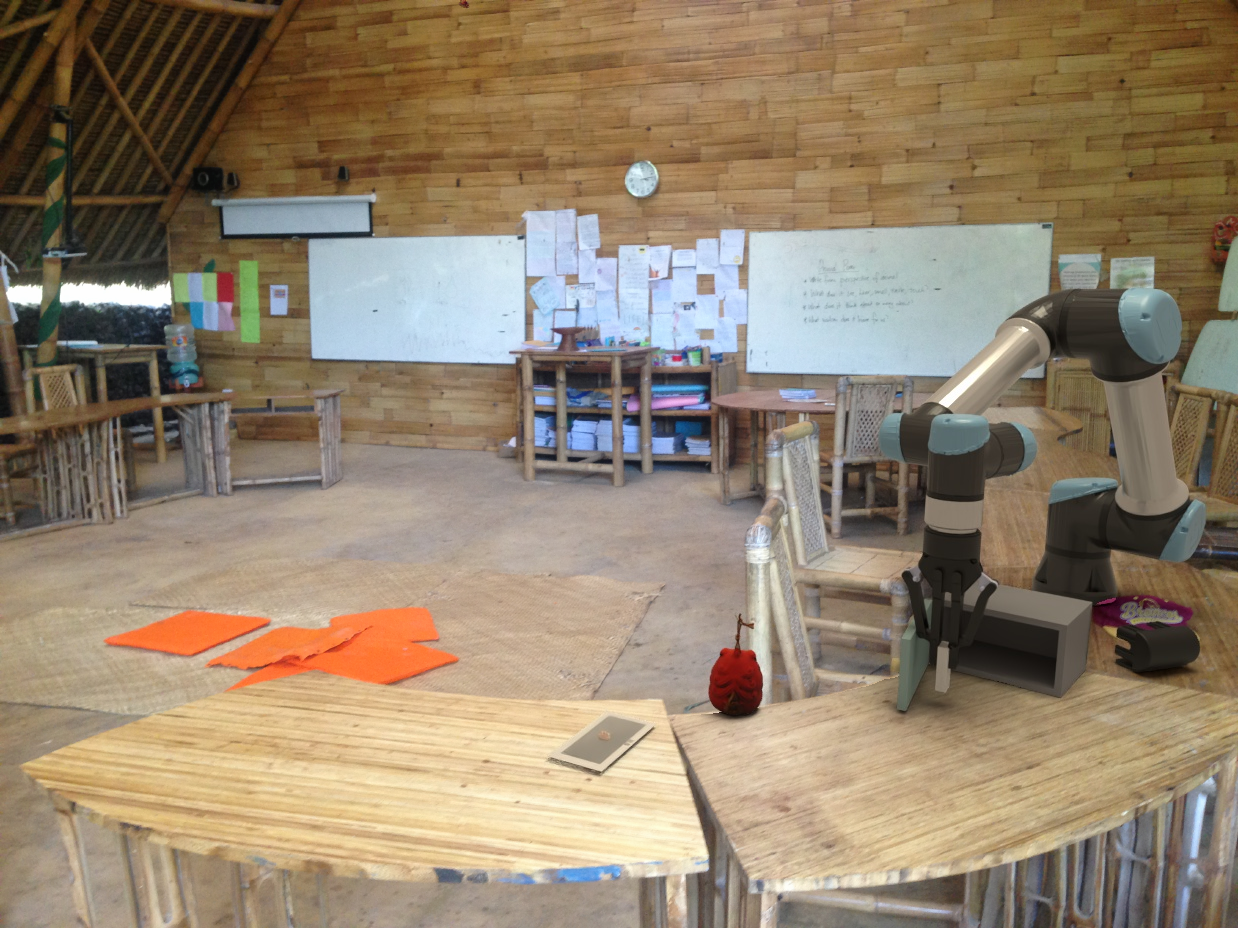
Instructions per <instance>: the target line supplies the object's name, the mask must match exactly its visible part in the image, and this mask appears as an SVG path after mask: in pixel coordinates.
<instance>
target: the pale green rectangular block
mask: <svg viewBox="0 0 1238 928" xmlns="http://www.w3.org/2000/svg"><path fill="white" fill-rule="evenodd" d="M924 603H925V609H926V614H927V619H928V624H929V629H931V614H932V599H931V597H925V598H924ZM929 645H930V643H929V642H928V641H927V640H925V639H921V638H919V637H918V636H917V631H916V626H915V621H914V617H913V618H912V619H911V621H910V623H909V624H908V626H907V628H906V629H905V631H904V633H903V635H902V637H901V640H900V655H899V656H900V657H892V658H891V663H890V672H892V673H896V674H898V686H897V688H898V690H897V702H896V703H897V706H896V709H897V711H898V710H900V711H902V712H903V711H904V712H905V711H906V712H907V710H908V707H909V706H910V703H911V701H912V699H913V696H914V694H915V693H916V690H917V689H918V686H919V684H920V682H921V680H922V677H923V675H924V673H925V671H926V669H927V668H928V665H929V664H928V660H929Z"/></svg>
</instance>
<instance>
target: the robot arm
mask: <svg viewBox="0 0 1238 928" xmlns="http://www.w3.org/2000/svg"><path fill="white" fill-rule="evenodd" d="M1181 315H1182V314H1181V311H1180V309H1179V306H1178V304H1177V302H1176V300H1175V299H1174V297H1172V295H1171V294H1170V293H1168V292H1166V291H1164V290H1162V289H1159V288H1144V287H1141V286H1140V287H1139V286H1135V287H1134V286H1132V287H1130V288H1067V289H1062V290H1057V291H1054V292H1051V293H1048V294H1046V295H1044V296H1042V297H1038V299H1035V300H1033V301H1031V302H1030V303H1028V304H1026V305H1025V306H1023V307H1022V308H1020V309H1018V310H1017V311H1015V312H1014V313H1013V314H1012V315H1010V316H1009V317H1008V318H1006V319H1005V320H1004V321H1003V322H1002V323H1001V324H1000V325H999V326H998V327H997V329H996V331H995V334H994V338H993V339H992V340H991V341H990V342H988V344H987V345H986V346H984V348H982V349H981V350H980V351H979V352H978V353H976V354H975V355H974V357H972V358H971V359H970V360H969V361H968V362H967V363H966V364H965V365H963V366H962V367H961V368H960V369H958V371H957V372H955V374H953V375H952V376H951V377H950V378H949V379H948V380H947V381H946V382H945V383H944V384H942V385H941V386H940V387H939V388H938V389H937V390H936V391H935V392H934V393H933V394H932V395H930V396H929V397H928V398H927V399H926V400H924V402H923V403H921V404H920V406H918V407H917V408H916V409H915V410H914V411H913V412H912V413H907V412H903V411H902V412H893V413H890V414H889V415H887V416H886V417H885V418H884V419H883V421H882V422H881V424H880V426H879V431H878V437H877V442H878V445H879V450H880V452H881V453H882V455H883V457H885V458H887V459H888V460H892V461H893V460H894V461H898V462H901V463H904V464H906V465H909V464H911V465H917V466H923V467H927V482H926V483H927V484H926V485H927V486H926V491H925V493H926V494H925V507H924V518H923V519H924V522H925V523H926V525H925V527H924V528H923V537H922V538H923V541H922V555H921V557H920V559H919V560H918V562H917V564H916V565H914V566H912V567H907V568H905V570H904V571H902V573H901V575H900V576H901V578H902V580H903V582H904V583H905V585H906V587H907V589H908V594H909V598H910V604H911V610H912V614H913V615H912V616H913V618H914V621H915V626H916V631H917V636H918V637H919V638H921V639H925V640H927V641H928V642H929V643H930V658H929V662H930V664H929V665H930V666H933V667H936V671H935V673H936V674H935V686H934V691H935V692H940V693H945V694H946V693H947V691H948V689H949V688H950V681H951V680H950V679H951V671H952V670H951V669H954V670H955V669H956V667H957V666H958V664H959V653H960V647H962V646H967V647H968V646H971V644H972V642H973V641H974V639H975V636H976V633H977V630H978V628H979V625H980V622H981V619H982V616H983V614H984V611H985V608H986V605H987V602H988V600H989V597H990V596H991V595H992V594H993V593H994V592H995V590H996V589H997V587H998V585H999V584H1000V583H999V581H998V580H997V579H995V578H991V577H989V575H987V574H986V573H984V568H983V565H982V563H981V549H982V548H981V547H982V546H981V545H982V534H983V533H982V531H981V529H980V528H981V527H982V526H983V520H984V505H985V504H984V503H985V489H986V480H990V479H994V478H996V479H997V478H1001V477H1010V476H1013V475H1015V474H1017V473H1019V472H1023V471H1025V470H1026V469H1028V468H1029V467H1031V465H1032V464H1033V462H1035V459H1036V457H1037V452H1038V445H1037V444H1038V443H1037V440H1036V437H1035V435H1034V433H1033V432H1032V431H1031V429H1030V428H1028V427H1027V426H1025V425H1024V424H1022V423H1019V422H1016V421H1015V422H1007V421H1001V422H998V423H993V422H992V423H990V422H989V420H988V419H987V418H986V417H985V416H982V415H983V414H984V413H985V412H986V411H987V410H988V409H989V408H990V407H991V406H992V405H993V404H994V403H995V402H996V401H997V400H999V399H1000V397H1002V396H1003V394H1005V393H1006V392H1007V391H1008V390H1009V389H1010V388H1011V387H1012V386H1013V385H1014V384H1015V383H1016V382H1017V381H1019V379H1021V378H1022V377H1023V376H1024V375H1025V374H1026V373H1027V372H1028V371H1029V370H1033V369H1037V368H1039V367H1041V366H1043V365H1044V364H1045V363H1046V362H1047V361H1048V360H1054V359H1060V358H1061V359H1062V358H1063V359H1064V358H1067V359H1081V360H1088V362H1089V366H1090V371H1091V375H1092V376H1093V377H1094V378H1095V379H1096V380H1098V381H1100V382H1102V383H1103V387H1104V392H1105V396H1106V397H1105V398H1106V403H1107V409H1108V414H1109V420H1110V425H1111V430H1112V431H1111V432H1112V436H1113V437H1112V438H1113V441H1114V447H1115V454H1116V458H1117V463H1118V470H1119V475H1120V481H1121V485H1120V484H1119V481H1118V480H1117V479H1115V478H1111V477H1075V478H1067V479H1066V478H1065V479H1064V478H1063V479H1060V480H1057V481H1055V482H1054V483H1053V484H1052V485H1051V487H1050V491H1049V496H1048V497H1049V498H1048V501H1047V506H1048V507H1047V517H1046V519H1047V520H1046V529H1045V530H1046V531H1045V541H1044V542H1045V543H1044V552H1043V554H1042V557H1041V559H1040V561H1039V564H1038V566H1037V567H1036V570H1035V573H1034V575H1033V576H1032V582H1031V583H1032V584H1031V590H1032V591H1037V592H1042V593H1048V594H1053V595H1058V596H1063V597H1069V598H1074V599H1079V600H1084V601H1089V602H1092V606H1097V605H1096V604H1097V603H1099V602H1102V601H1105V600H1107V599H1112V598H1116V597H1117V598H1118V592H1119V591H1118V584H1117V581H1116V578H1115V573H1114V570H1113V566H1112V561H1111V556H1112V551H1116V552H1121V553H1126V554H1131V555H1134V556H1139V557H1143V558H1144V557H1145V558H1149V559H1154V560H1157V561H1160V562H1164V561H1166V562H1172V563H1173V562H1174V563H1183V562H1185V561H1187V560H1189V559H1190V558H1191V557H1192V556H1193V554H1194V553H1195V551H1196V550H1197V548H1198V546H1199V543H1200V541H1201V539H1202V536H1203V533H1204V530H1205V527H1206V526H1205V525H1206V521H1207V507H1206V504H1205V503H1204V502H1203V501H1201V500H1198V499H1197V498H1195V499H1191V497H1190V491H1189V488H1188V485H1187V484H1186V483H1185V482H1184V481H1183V480H1182V479H1180V478H1178V477H1177V472H1176V471H1177V470H1176V465H1175V464H1176V463H1175V456H1174V450H1173V449H1174V448H1173V444H1172V437H1171V429H1170V423H1169V417H1168V416H1169V415H1168V408H1167V403H1166V396H1165V389H1164V388H1165V387H1164V381H1163V374H1162V372H1164V371H1165V370H1166V369H1167V368H1168V367H1169V365H1170V363H1171V361H1172V360H1173V359H1174V358H1175V357H1176V355H1177V354H1178V352H1179V349H1180V347H1181V345H1182V344H1181V343H1182V336H1181V332H1183V322H1182V316H1181ZM922 576H923V577H924V579H925V580H926V582H927V584H928V585H929V586H930V588H931V592H932V593H931V597H932V614H931V629H929V624H928V619H927V614H926V609H925V603H924V599H925V598H924V594H923V589H922V585H921V581H920V580H921V579H922ZM977 580H978V581H979V586H978V589H979V591H980V592H981V593H980V595H979V597H978V599H977V602H976V604H975V607H974V610H973V613H972V616H971V618H970V621H969V624H968V627H967V630H966V633H965V635H961V632H962V618H963V603H964V595H965V592H966V591H967V590H968V589H969V588H970V587H971V586H972V585H973V584H974V583H975V582H976V581H977ZM946 592H949V593H951V616H950V632H949V642H945V641H941V639H942V637H943V635H942V632H943V617H944V602H945V593H946ZM954 670H953V671H954Z"/></svg>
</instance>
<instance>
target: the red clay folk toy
mask: <svg viewBox="0 0 1238 928" xmlns="http://www.w3.org/2000/svg"><path fill="white" fill-rule="evenodd" d="M734 616H735V618H736V622H737V623H736V624H737V625H736V632H737V633H736V634H735V635H734V639H735V641H736V643H735V644H734V648H729V647H723V648H722V649H721V650H720V651H719V657H718V658H717V659H716V661H715V663H714V664H713V666H712V667H711V670H710V675H709V685H708V691H707V692H708V699H709V702H710V703H711V705H712V706H713V707H714V709H715V710H717V711H718V712H721V713H723V714H726V715H730V716H745V715H748V714H751V713H753V712H755V711H757V710H758V709H759V707H760V705H761V703H762V701H763V695H764V694H763V688H764V676H763V675H764V674H763V672H762V670H761V666H760V665H759V663H758V660H757V654H756V652H755V651H754V650H752V649H748V650H745V649H742V648H741V644H740V639H741V629H742V626H744V627H747V628H749V629H751V630H754V629H755V622H750V623H747V622H743V618H742V613H739V614H738V615H736V614H734Z"/></svg>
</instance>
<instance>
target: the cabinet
mask: <svg viewBox="0 0 1238 928" xmlns="http://www.w3.org/2000/svg"><path fill="white" fill-rule="evenodd" d="M978 586H979V581H978V580H977V581H976V582H975V583H974V584H973V585H972V586H971V587H970V588H969V589H968V590H967V591H966V592H965V595H964V603H963V618H962V632H961V635H965V633H966V630H967V627H968V624H969V621H970V618H971V616H972V613H973V610H974V607H975V604H976V602H977V599H978V597H979V595H980V593H981V592H980V591H979V589H978ZM930 598H931V599H932V596H930ZM1092 611H1093V605H1092V602H1089V601H1084V600H1079V599H1074V598H1069V597H1063V596H1058V595H1053V594H1048V593H1042V592H1037V591H1033V590H1032V589H1025V588H1022V587H1021V588H1020V587H1015V586H1012V585H1011V586H1010V585H1006V584H1000V583H999V585H998V587H997V589H996V590H995V592H994V593H993V594H992V595H991V596H990V597H989V600H988V602H987V605H986V608H985V611H984V614H983V616H982V619H981V622H980V625H979V628H978V630H977V633H976V636H975V639H974V641H973V642H972V644H971V646H968V647H967V646H962V647H960V653H959V664H958V666H957V667H956V669H955V670H954V669H951V670H950V671H954V672H958V673H963V674H965V675H970V676H973V677H974V676H975V677H978V678H982V679H986V680H989V679H992V680H991V681H993V680H994V682H997V681H999V682H998V683H1001V682H1004V683H1003V684H1005V683H1007V684H1006V685H1009V684H1010V686H1013V685H1014V687H1017V688H1020V687H1021V689H1024V690H1029V691H1032V692H1036V693H1037V692H1038V693H1040V694H1045V695H1049V696H1053V697H1056V698H1060V699H1061V698H1062V697H1063V696H1064V695H1065V694H1066V693H1067V691H1068V690H1069V689H1071V687H1072V686H1073V685H1074V684H1075V682H1077V680H1078V679H1079V678H1080V676H1081V675H1082V674H1083V673H1084V672H1085V671H1086V670H1087V663H1088V653H1089V643H1090V634H1091V633H1090V632H1091V631H1090V629H1091V624H1092V623H1091V621H1092ZM950 616H951V593H949V592H946V593H945V602H944V617H943V632H942V635H943V637H942V639H941V641H945V642H949V632H950ZM929 658H930V645H929ZM929 663H930V662H929V660H928V665H930V664H929Z"/></svg>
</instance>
